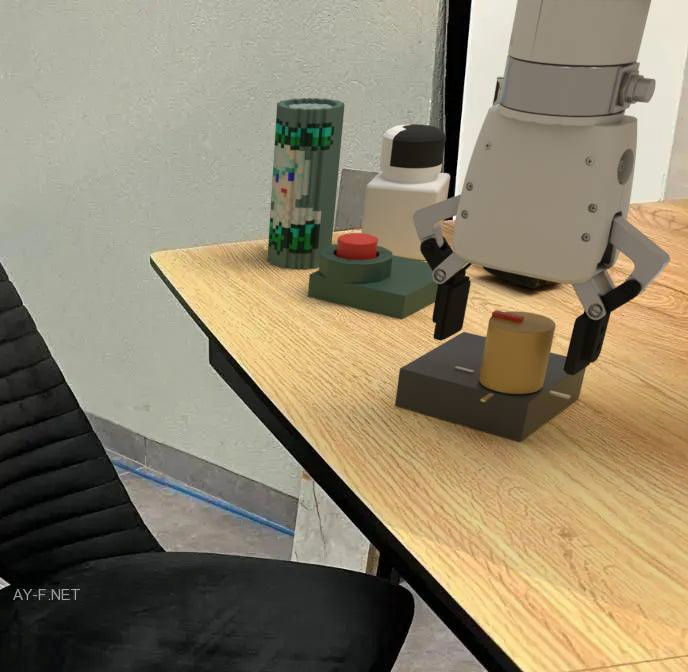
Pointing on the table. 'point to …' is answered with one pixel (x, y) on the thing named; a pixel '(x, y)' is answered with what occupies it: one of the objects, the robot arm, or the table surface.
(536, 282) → the tape measure
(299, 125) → the can
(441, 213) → the robot arm
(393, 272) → the button block
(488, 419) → the plate
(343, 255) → the button
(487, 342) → the lock knob
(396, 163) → the medicine bottle
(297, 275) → the table surface
